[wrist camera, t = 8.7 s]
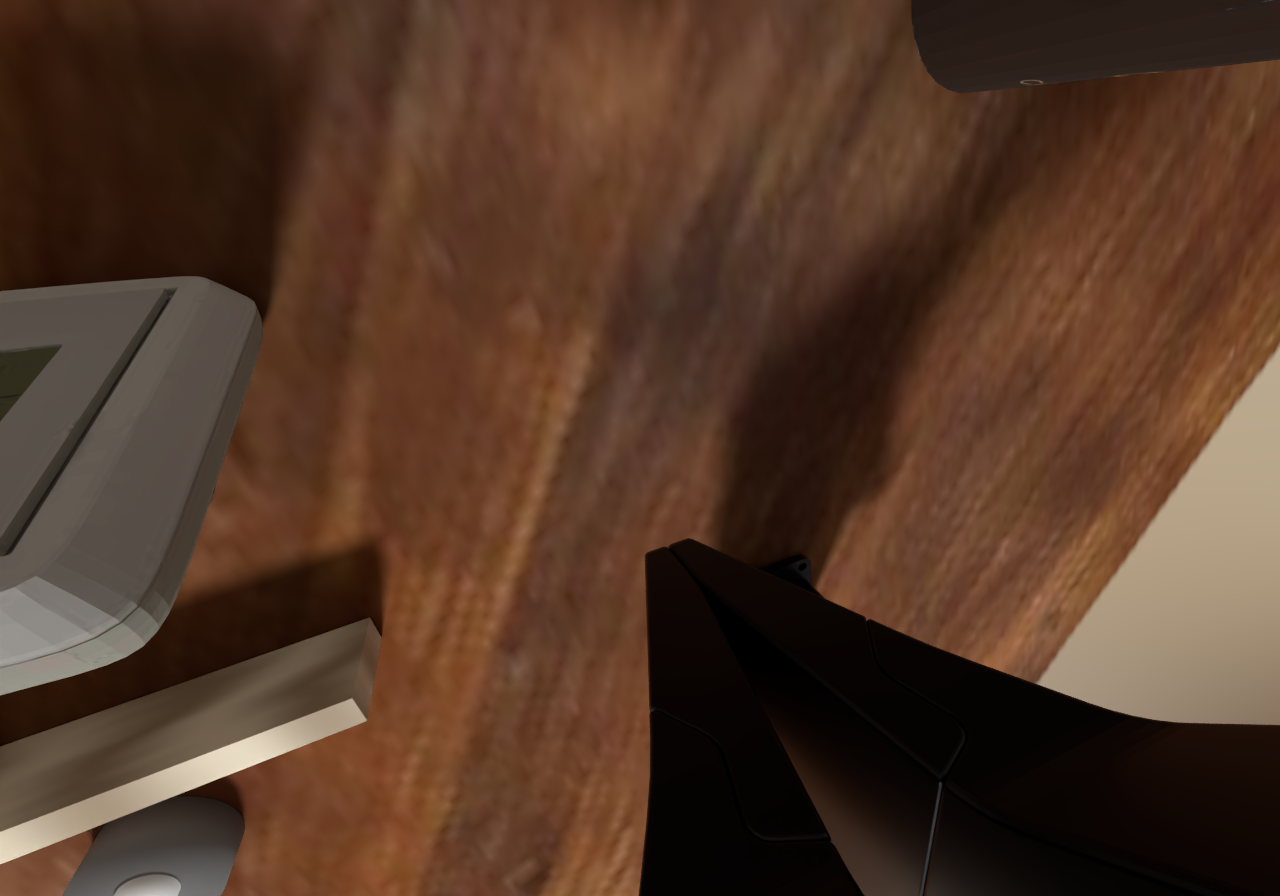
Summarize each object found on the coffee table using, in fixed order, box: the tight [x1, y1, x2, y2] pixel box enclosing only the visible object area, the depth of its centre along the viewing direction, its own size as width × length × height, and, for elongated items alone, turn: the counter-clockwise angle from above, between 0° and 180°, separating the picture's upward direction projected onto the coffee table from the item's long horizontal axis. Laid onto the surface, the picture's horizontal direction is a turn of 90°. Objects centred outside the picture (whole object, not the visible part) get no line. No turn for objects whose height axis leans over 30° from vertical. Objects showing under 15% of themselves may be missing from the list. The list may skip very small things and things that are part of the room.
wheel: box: [63, 796, 245, 896], centre depth 20 cm, size 5×5×2 cm
